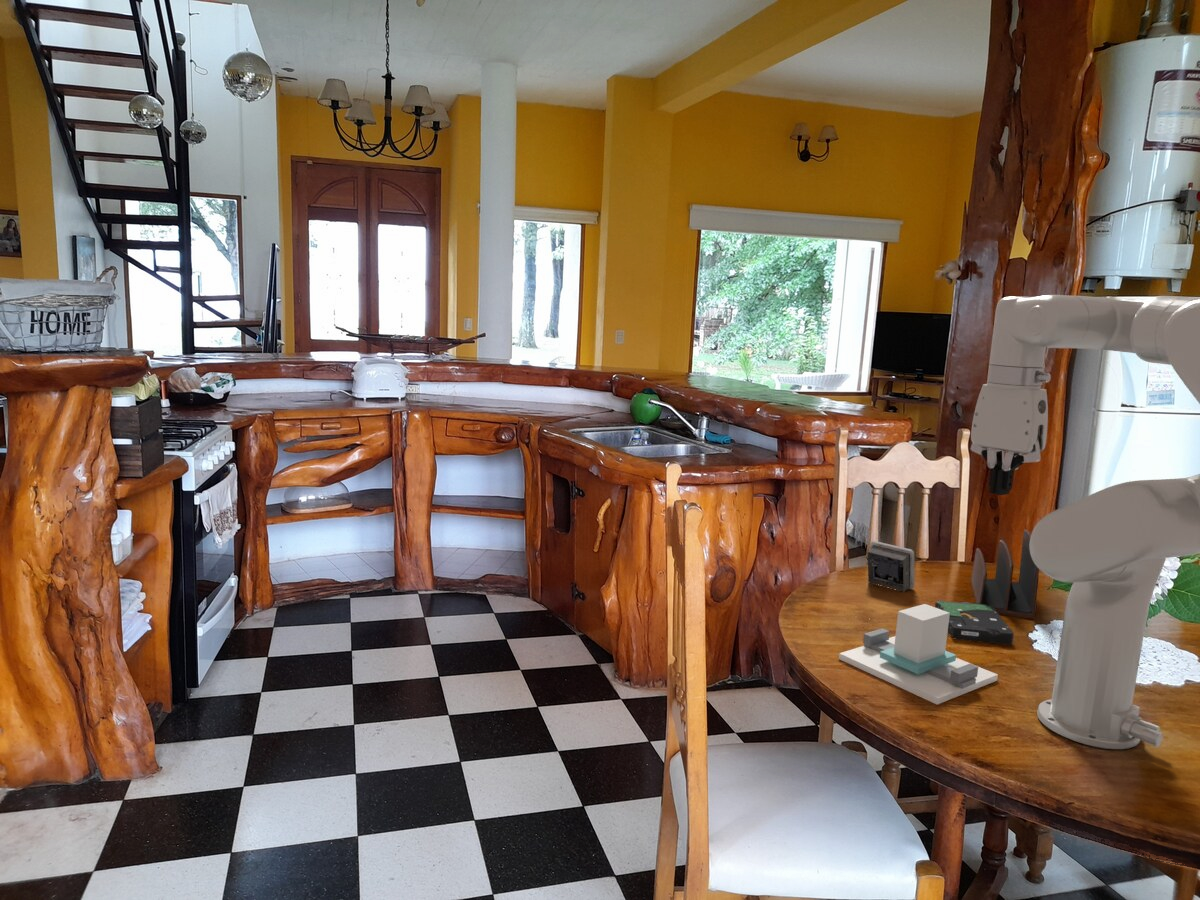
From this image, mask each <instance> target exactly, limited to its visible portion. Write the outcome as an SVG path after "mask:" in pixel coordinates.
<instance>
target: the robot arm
mask: <svg viewBox="0 0 1200 900" xmlns="http://www.w3.org/2000/svg"><path fill="white" fill-rule="evenodd" d="M996 304H997V305H996V308H995V313H994V314H995V315H994V324H993V329H992V330H993V331H992V338H991V346H990V354H989V355H990V356H989V364H988V370H987V372H988V373H987V377H986V378H987V380H986V383H984V384H982V387H981V390H980V391H979V394H978V398H977V401H976V405H975V410H974V413H973V418H972V423H971V431H970V440H971V445H970V451H971V452H973V453H975V454H978V455H980V456H982V457H983V458H984V460H985V462H986V464H987V467H988V468H989V469H990V470H989V472H990V473H989V478H988V487H989V494H991V495H997V496H1005V495H1009V494H1010V492H1011V491H1012V489H1013V483H1014V474H1015V470H1018V469H1019V468H1020V467H1021V466H1023V465H1024V464H1025V463H1038V462H1040V461H1041V459H1042V458H1041V457H1042V456H1041V452H1042V451H1044V450H1045V448H1046V445H1047V439H1048V423H1049V421H1048V420H1049V417H1048V416H1049V412H1048V411H1049V408H1048V407H1049V405H1048V395H1047V389H1046V388H1045V389H1044V388H1042V386H1043V384H1044V383H1049V382H1050V381H1051V378H1052V376H1051V373H1047V372H1045V366H1044V365H1045V358H1046V350H1047V349H1081V350H1082V349H1083V350H1084V349H1085V350H1100V351H1112V352H1121V353H1131V354H1135V355H1136V356H1137V357H1138V358H1139V359H1140V360H1142V361H1144V362H1146V363H1151V364H1152V363H1153V364H1158V365H1159V364H1160V365H1170V366H1171V367H1172V368H1173V371H1174V372H1175V373H1176V374H1177V376H1178V377H1179V378H1180V380H1181V381H1182V382H1183V383H1182V384H1184V386H1186V388H1187V389H1188V391H1189V392H1190V393H1191V394H1192V396H1193V397H1194V399H1195V400H1196V401H1197V402H1198V404H1199V405H1200V296H1199V297H1196V296H1179V295H1178V296H1177V295H1175V296H1173V295H1158V296H1154V297H1151V298H1150V299H1131V298H1129V299H1127V298H1116V297H1115V298H1113V297H1097V296H1087V295H1086V296H1085V295H1084V296H1083V295H1071V294H1070V295H1066V294H1065V295H1064V294H1045V295H1040V296H1005V297H1003V298H1001V299H1000V300H999V301H997V303H996ZM1004 452H1005V453H1004ZM1029 548H1030V554H1031V557H1032V560H1033V562H1034V563H1035V565H1036V566H1037V567H1038V568H1039V571H1041V573H1043V574H1044V575H1046V576H1048V578H1051V579H1053V580H1055V581H1058V582H1061V583H1069V584H1071V583H1072V585H1071V587H1070V589H1069V593H1068V596H1067V599H1066V602H1065V603H1066V604H1065V609H1064V614H1063V622H1062V627H1061V634H1060V635H1061V636H1060V642H1059V647H1058V656H1057V662H1056V668H1055V675H1054V681H1053V689H1052V695H1051V698H1050V699H1046V700H1044V701H1042V702H1040V703H1039V705H1038V706H1037V712H1036V715H1037V718H1038V719H1039V721H1040V722H1041V723H1042V724H1043V725H1044V726H1045V727H1047V728H1048V729H1049V730H1051V731H1052V732H1054V733H1056V734H1057V735H1060V736H1061V737H1064V738H1066V739H1069V740H1070V741H1074V742H1077V743H1080V744H1083V745H1085V746H1090V747H1094V748H1099V749H1105V750H1107V749H1108V750H1109V749H1110V750H1125V749H1130V748H1133V747H1136V746H1137V745H1138V744H1140V742H1141V741H1142V742H1144V743H1146V744H1149V745H1151V746H1154V747H1156V748H1158V747H1160V746H1161V744H1162V742H1163V739H1164V737H1163V735H1164V734H1163V733H1162V732H1161V727H1160V726H1159V725H1157V724H1155V723H1152V722H1149V721H1145V720H1143V719H1142V717H1141V716H1139V714H1140V710H1141V709H1140V708H1141V707H1140V706H1138V705H1136V704H1134V703H1133V702H1134V701H1133V700H1134V695H1135V688H1136V684H1137V678H1138V677H1137V676H1138V671H1139V665H1140V659H1141V655H1142V654H1141V653H1142V647H1143V642H1144V635H1145V632H1146V625H1147V621H1148V617H1149V616H1148V615H1149V610H1150V607H1151V606H1150V605H1151V602H1152V597H1153V595H1154V594H1153V593H1154V591H1155V589H1156V585H1157V583H1158V581H1159V577H1160V576H1161V573H1162V571H1163V567H1164V565H1165V562H1166V559H1167V558H1177V557H1181V558H1182V557H1188V556H1194V555H1199V554H1200V473H1198V474H1195V475H1191V476H1189V477H1181V478H1180V477H1178V478H1167V479H1166V478H1165V479H1162V478H1161V479H1143V480H1132V481H1130V480H1129V481H1126V482H1122V483H1121V482H1120V483H1118V484H1114V485H1111V486H1108V487H1106V488H1103V489H1100V490H1099V491H1096V492H1094V493H1092V494H1090V495H1087V496H1085V497H1082V498H1080V499H1078V500H1076V501H1073V502H1070V503H1069V504H1066V505H1065V506H1061V507H1060V508H1057V509H1054V510H1053V511H1051V512H1050V513H1048V514H1046V515H1045V516H1044V517H1042V518H1041V519H1040V520H1039V521H1038V522H1037V524H1036V525H1035V526H1034V528H1033V530H1032V532H1031V538H1030V544H1029Z"/></svg>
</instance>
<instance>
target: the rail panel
mask: <svg viewBox="0 0 1200 900" xmlns="http://www.w3.org/2000/svg"><path fill="white" fill-rule="evenodd" d="M890 634H891V633H890V630H887V629H886V628H882V627H881V628H878V629H876V630H873V631H869V632H865V633H863V639H862V643H863V645H862V646H859V647H855V648H851V649H849V650H845V651H843V652H839V653H838V654H839V655H838V656H839V657H838V660H840V661H842V662H845V663H846V664H848V665H851V666H853V667H855V668H857V669H859V670H862V671H864V672H865V673H869V675H872V676H874V677H877V678H878V679H881V680H882V681H886V682H887V683H890V684H892V685H894V686H896V687H898V688H900V689H903V690H905V691H906V692H909V693H911V694H914V695H915V696H917V697H920V698H922V699H924V700H926V701H929V702H930V703H933V704H935V705H941V704H942V703H945V702H947V701H950V700H952V699H954V698H957V697H959V696H963V695H964V694H967V693H969V692H972V691H974V690H977V689H980V688H981V687H984V686H987V685H989V684H992V683H994V682H997V681H998V677H999V676H998V675H999V674H997V673H996V672H993V671H990V670H988V669H985V668H982V667H980V666H979V665H975V664H973V663H970V662H968V661H965V660H963V659H960V658H958V657H956V661H953V662H951V663H948V664H945V665H942V666H939V667H937V668H934V669H931V670H928V671H926V672H923V673H920V674H916V673H914V672H912V671H909V670H907V669H905V668H902V667H900V666H898V665H896V664H893V663H891V662H889V661H887V660H884V659H882V658H880V651H884V650H887V649H890V648H893V647H894V645H895V636H896V635H894V636H891V637H890Z"/></svg>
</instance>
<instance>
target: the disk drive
mask: <svg viewBox="0 0 1200 900" xmlns="http://www.w3.org/2000/svg"><path fill="white" fill-rule="evenodd" d="M934 605H935V606H934V607H935V608H938V609H941V610H943V611H946V612H949V613H950V616H949V624H948V632H947V634H948V635H949V634H950V635H951V636H950V635H949V636H950V637H951V639H952V638H956V639H955V640H960V639H964V640H963V641H969V640H971V641H970V642H978V641H981V643H988V642H989V644H999V645H1007V646H1013V645H1014V635H1015V634H1014V633H1015V632H1013V630H1012V628H1010V627H1009V625H1008V624H1007V623H1006V622H1005V620H1004V619H1003V618H1002V617H1001V616H1000V614H998V613H997V612H996V611H995V609H994V608H993V607H992V606H991V605H986V604H977V603H976V602H965V601H962V602H959V601H946V600H942V599H938V600H937V601H936V602H935V604H934Z"/></svg>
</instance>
